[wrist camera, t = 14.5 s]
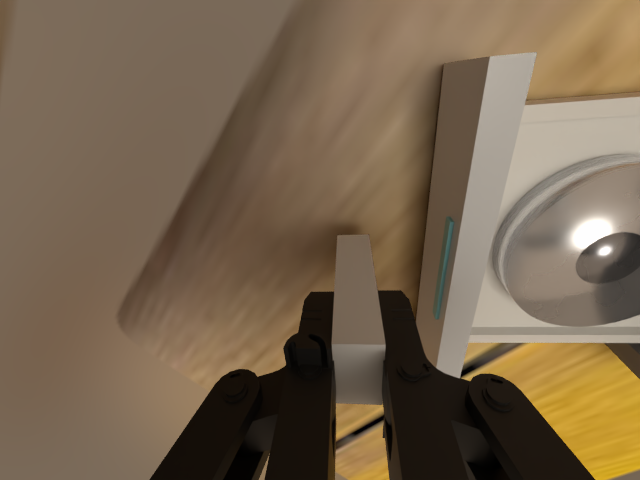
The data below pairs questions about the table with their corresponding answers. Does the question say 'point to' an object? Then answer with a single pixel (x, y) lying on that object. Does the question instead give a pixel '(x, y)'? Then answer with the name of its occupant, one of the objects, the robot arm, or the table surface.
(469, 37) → the table surface
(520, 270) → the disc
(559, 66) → the table surface
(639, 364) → the tray
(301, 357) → the robot arm
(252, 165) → the table surface
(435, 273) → the tray
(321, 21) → the table surface
